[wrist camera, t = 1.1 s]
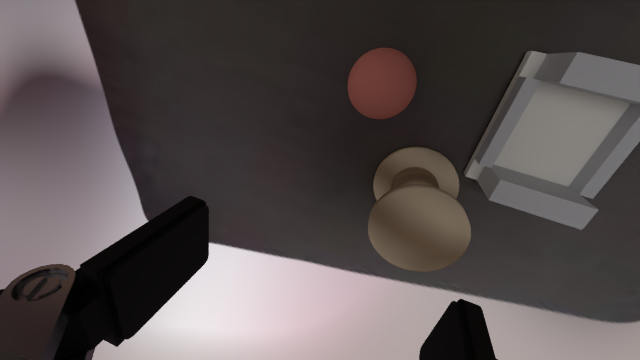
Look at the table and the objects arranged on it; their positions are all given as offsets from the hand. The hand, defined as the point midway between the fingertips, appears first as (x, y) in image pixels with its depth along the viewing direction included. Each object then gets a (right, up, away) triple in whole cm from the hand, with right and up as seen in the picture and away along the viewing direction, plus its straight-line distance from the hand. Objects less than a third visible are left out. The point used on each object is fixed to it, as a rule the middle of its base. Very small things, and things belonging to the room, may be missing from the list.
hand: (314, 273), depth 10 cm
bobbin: (+10, +3, +17) cm, 20 cm away
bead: (+6, +12, +14) cm, 20 cm away
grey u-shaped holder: (+19, +7, +12) cm, 24 cm away
